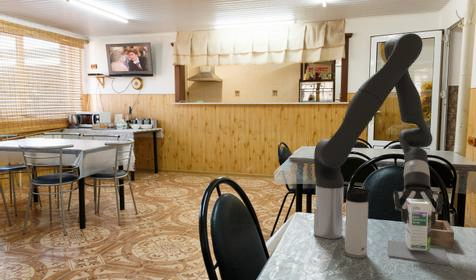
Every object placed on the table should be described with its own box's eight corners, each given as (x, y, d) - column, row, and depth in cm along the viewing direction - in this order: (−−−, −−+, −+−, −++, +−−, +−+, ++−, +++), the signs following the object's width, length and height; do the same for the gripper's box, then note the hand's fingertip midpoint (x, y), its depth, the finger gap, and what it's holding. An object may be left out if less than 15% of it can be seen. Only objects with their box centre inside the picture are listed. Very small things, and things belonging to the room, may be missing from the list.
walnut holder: (410, 242, 116) (411, 227, 116) (408, 230, 127) (408, 217, 127) (453, 248, 112) (454, 232, 111) (446, 235, 123) (447, 221, 122)
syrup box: (409, 250, 106) (411, 202, 105) (404, 242, 112) (406, 197, 110) (430, 251, 105) (432, 203, 103) (424, 243, 110) (426, 198, 109)
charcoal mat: (388, 256, 105) (388, 255, 105) (387, 241, 117) (387, 240, 117) (450, 265, 99) (450, 264, 99) (443, 248, 111) (443, 246, 111)
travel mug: (369, 259, 103) (371, 192, 102) (345, 257, 105) (347, 191, 103) (366, 251, 110) (368, 187, 108) (343, 249, 111) (345, 186, 109)
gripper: (393, 169, 116) (392, 215, 106) (443, 171, 110) (448, 220, 101) (392, 181, 121) (391, 226, 111) (440, 185, 116) (444, 232, 106)
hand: (418, 223), depth 106 cm, fingers closed on syrup box, 6 cm apart
